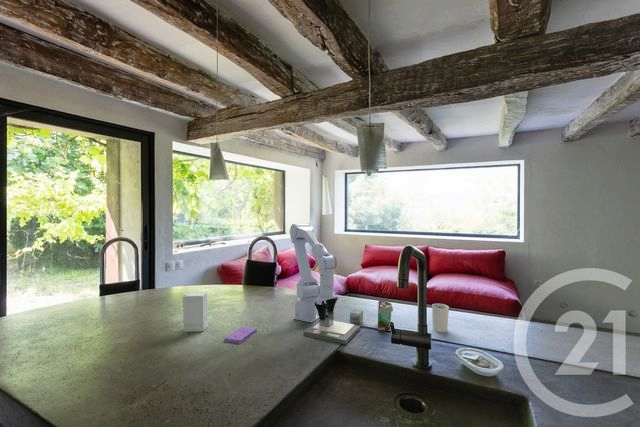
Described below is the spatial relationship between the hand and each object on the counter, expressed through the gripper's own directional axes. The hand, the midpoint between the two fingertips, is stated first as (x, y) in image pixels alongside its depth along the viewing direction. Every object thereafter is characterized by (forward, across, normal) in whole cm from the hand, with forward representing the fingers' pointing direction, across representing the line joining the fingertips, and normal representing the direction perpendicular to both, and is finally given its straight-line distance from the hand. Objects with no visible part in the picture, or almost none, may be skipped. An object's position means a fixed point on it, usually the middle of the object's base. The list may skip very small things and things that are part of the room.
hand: (326, 316), depth 128 cm
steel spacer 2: (+5, +14, -9) cm, 17 cm away
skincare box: (+6, -26, +47) cm, 54 cm away
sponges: (+6, -22, +27) cm, 35 cm away
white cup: (+5, +22, -43) cm, 48 cm away
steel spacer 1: (+3, 0, 0) cm, 3 cm away
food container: (+5, +14, -22) cm, 26 cm away
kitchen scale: (+5, -2, -4) cm, 6 cm away
